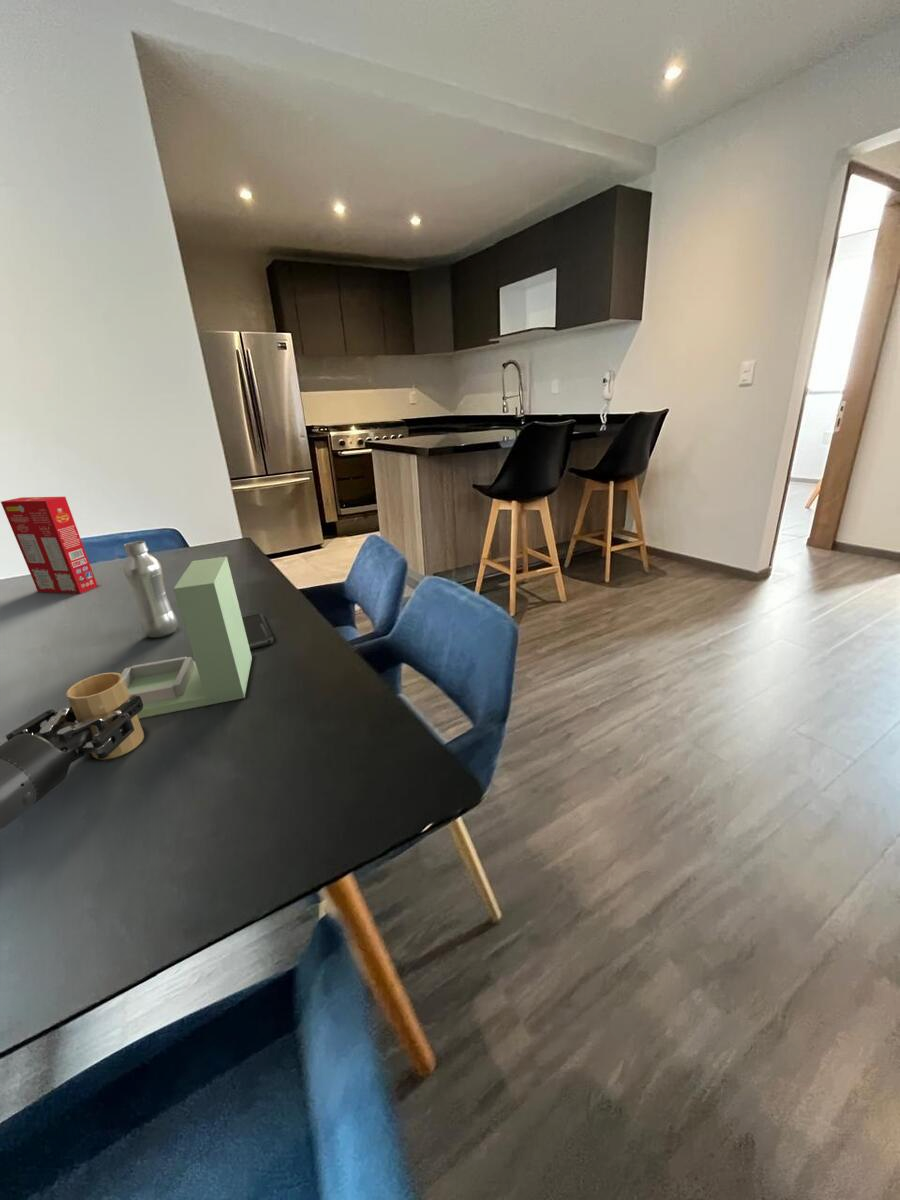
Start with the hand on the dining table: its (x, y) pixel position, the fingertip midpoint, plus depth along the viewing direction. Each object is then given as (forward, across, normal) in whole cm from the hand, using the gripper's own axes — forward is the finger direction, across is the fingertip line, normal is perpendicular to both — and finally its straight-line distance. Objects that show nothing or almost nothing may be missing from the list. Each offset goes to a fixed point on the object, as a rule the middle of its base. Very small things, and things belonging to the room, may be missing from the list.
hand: (117, 699), depth 70 cm
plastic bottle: (+32, +19, +6) cm, 38 cm away
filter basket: (-2, 0, +6) cm, 6 cm away
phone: (+32, 0, +6) cm, 33 cm away
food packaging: (+57, +69, +6) cm, 90 cm away
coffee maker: (+12, 0, +6) cm, 13 cm away
